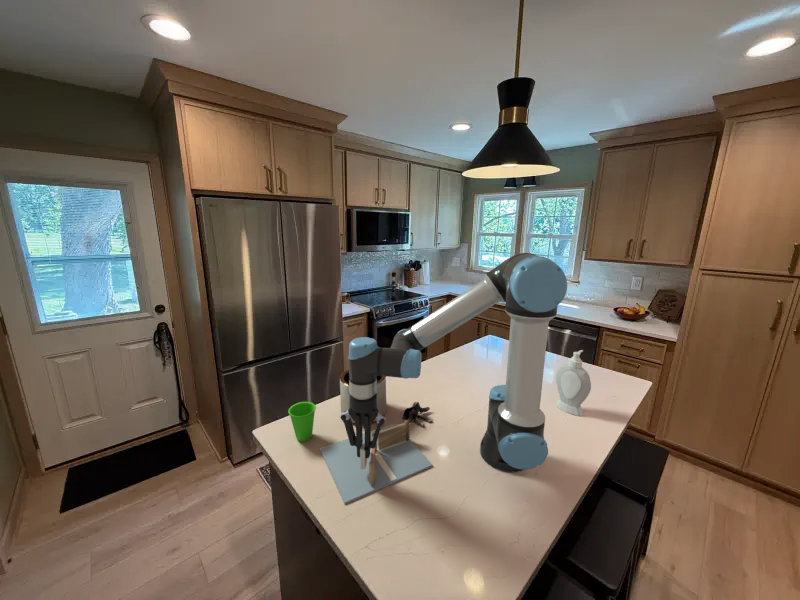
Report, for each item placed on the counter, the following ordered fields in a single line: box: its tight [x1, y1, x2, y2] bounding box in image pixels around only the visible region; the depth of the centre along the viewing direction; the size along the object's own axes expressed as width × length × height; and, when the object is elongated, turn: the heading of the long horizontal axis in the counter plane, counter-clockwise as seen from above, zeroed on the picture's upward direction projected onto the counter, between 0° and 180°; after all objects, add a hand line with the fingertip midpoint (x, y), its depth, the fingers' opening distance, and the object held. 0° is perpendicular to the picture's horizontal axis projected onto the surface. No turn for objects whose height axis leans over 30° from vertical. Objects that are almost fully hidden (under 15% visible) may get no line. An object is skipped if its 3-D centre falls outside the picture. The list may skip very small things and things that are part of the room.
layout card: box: [319, 422, 433, 505], centre depth 101 cm, size 24×28×1 cm
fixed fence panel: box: [371, 420, 411, 452], centre depth 106 cm, size 2×14×8 cm, turn 119°
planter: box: [339, 368, 388, 424], centre depth 124 cm, size 18×18×16 cm
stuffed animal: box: [402, 401, 434, 428], centre depth 124 cm, size 12×10×12 cm
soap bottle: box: [555, 349, 592, 417], centre depth 125 cm, size 13×8×24 cm, turn 39°
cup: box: [287, 401, 317, 443], centre depth 110 cm, size 9×9×11 cm
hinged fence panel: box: [369, 436, 376, 485], centre depth 95 cm, size 13×2×6 cm, turn 2°
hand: (363, 465), depth 94 cm, fingers closed
